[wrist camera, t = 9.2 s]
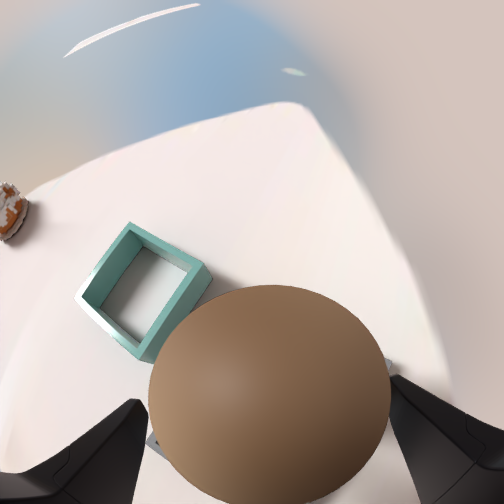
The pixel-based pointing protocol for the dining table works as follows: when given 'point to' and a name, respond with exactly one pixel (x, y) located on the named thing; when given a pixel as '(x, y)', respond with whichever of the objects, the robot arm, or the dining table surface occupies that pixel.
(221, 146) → the dining table surface
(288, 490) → the brown tall rounded cylinder
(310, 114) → the dining table surface
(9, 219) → the decorative ornament
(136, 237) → the teal square frame
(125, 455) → the robot arm
